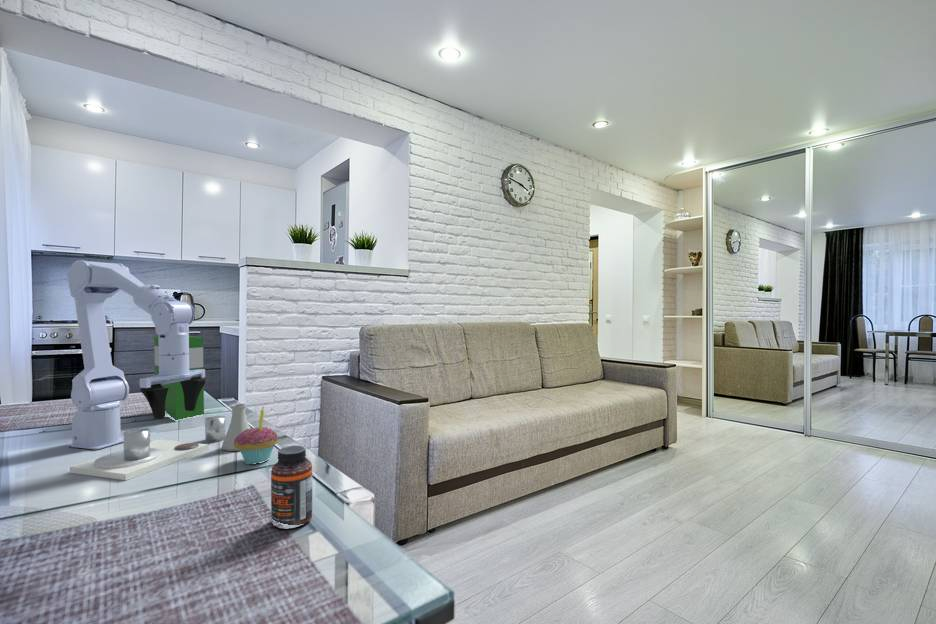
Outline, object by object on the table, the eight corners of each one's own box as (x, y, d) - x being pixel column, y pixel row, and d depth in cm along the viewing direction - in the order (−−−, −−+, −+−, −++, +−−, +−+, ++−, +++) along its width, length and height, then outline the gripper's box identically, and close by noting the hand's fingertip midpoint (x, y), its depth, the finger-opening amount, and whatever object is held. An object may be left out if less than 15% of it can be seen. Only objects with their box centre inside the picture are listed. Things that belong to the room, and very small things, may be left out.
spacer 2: (201, 441, 110) (200, 419, 110) (215, 436, 114) (215, 415, 114) (215, 443, 109) (215, 420, 109) (229, 438, 113) (229, 416, 113)
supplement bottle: (262, 529, 67) (261, 454, 67) (285, 511, 73) (284, 442, 73) (299, 533, 66) (298, 456, 66) (319, 514, 72) (319, 443, 72)
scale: (69, 472, 90) (69, 463, 90) (158, 444, 108) (158, 436, 108) (126, 480, 86) (125, 471, 86) (208, 449, 104) (208, 441, 104)
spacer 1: (120, 458, 93) (119, 432, 93) (144, 452, 97) (143, 427, 97) (129, 462, 91) (129, 435, 91) (154, 456, 94) (153, 430, 94)
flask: (242, 453, 102) (241, 409, 102) (214, 451, 103) (213, 407, 103) (262, 443, 109) (262, 402, 109) (236, 441, 110) (236, 401, 110)
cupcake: (286, 456, 99) (286, 402, 99) (257, 470, 91) (256, 411, 91) (256, 452, 102) (255, 400, 102) (224, 465, 94) (223, 408, 94)
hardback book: (155, 412, 141) (154, 336, 140) (182, 408, 146) (181, 334, 146) (176, 421, 129) (174, 338, 129) (204, 416, 135) (202, 337, 135)
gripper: (156, 358, 93) (158, 423, 93) (214, 351, 107) (215, 408, 107) (131, 357, 95) (132, 421, 95) (191, 350, 109) (192, 406, 109)
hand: (175, 414), depth 101 cm, fingers open, 7 cm apart
